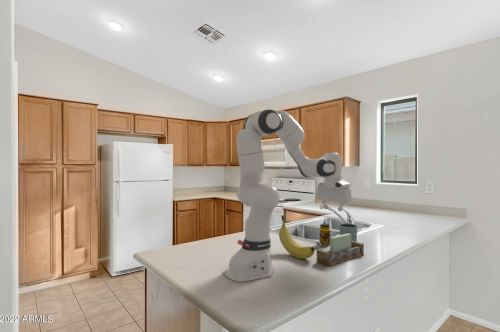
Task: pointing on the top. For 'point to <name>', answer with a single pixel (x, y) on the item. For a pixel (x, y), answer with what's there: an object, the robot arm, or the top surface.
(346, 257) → the track base
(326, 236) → the condiment
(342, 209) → the robot arm
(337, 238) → the door panel
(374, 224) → the top surface
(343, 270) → the top surface
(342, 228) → the grey-green cup
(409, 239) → the top surface
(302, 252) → the banana
